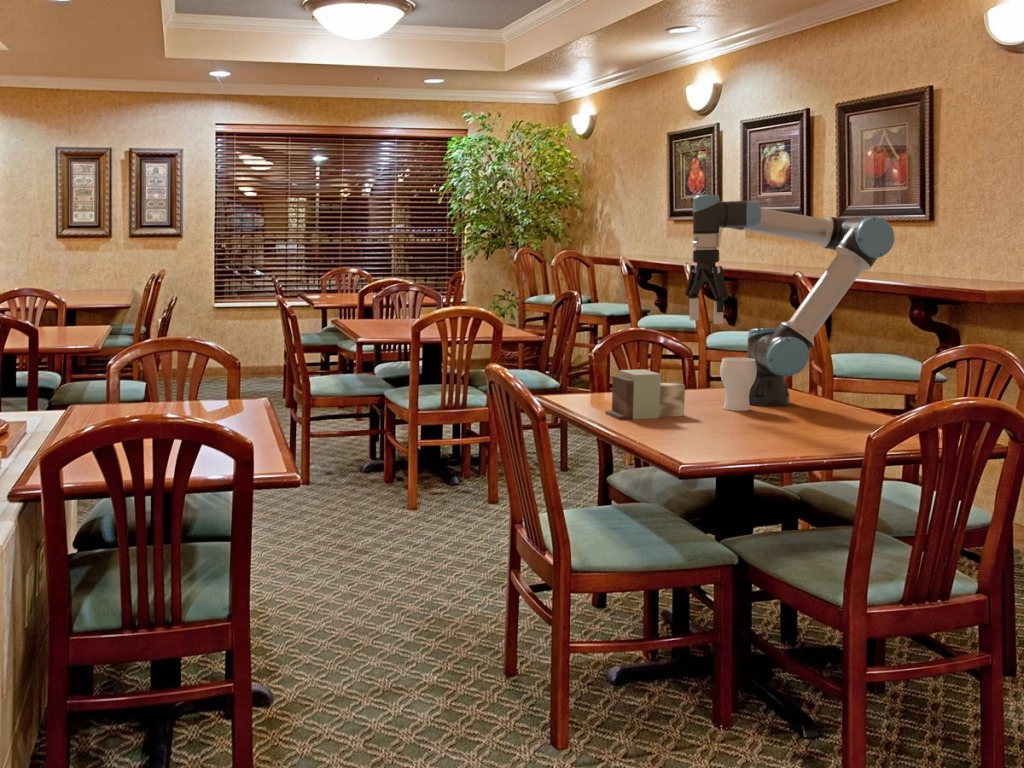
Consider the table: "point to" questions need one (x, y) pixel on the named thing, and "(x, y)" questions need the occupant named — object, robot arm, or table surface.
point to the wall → (622, 398)
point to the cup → (737, 381)
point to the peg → (671, 399)
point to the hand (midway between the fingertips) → (706, 322)
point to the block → (644, 392)
